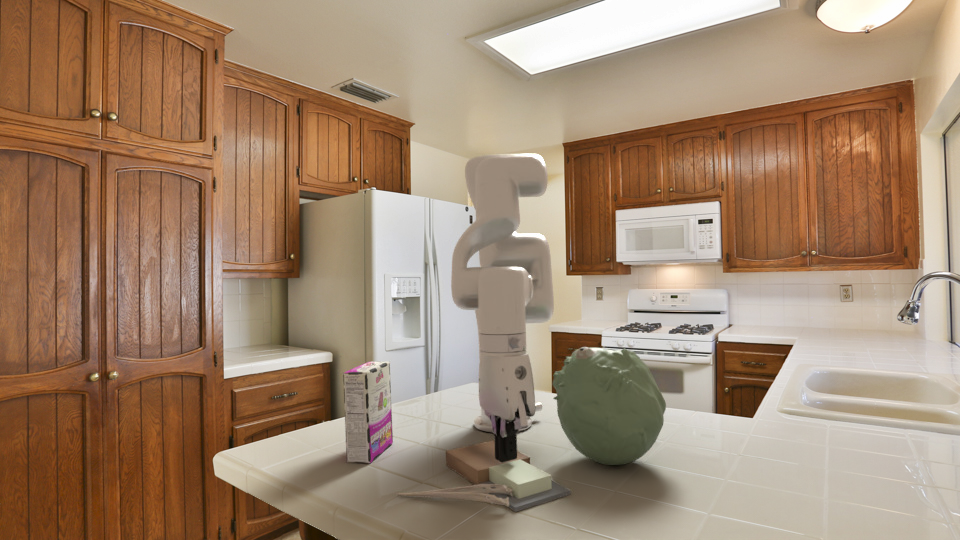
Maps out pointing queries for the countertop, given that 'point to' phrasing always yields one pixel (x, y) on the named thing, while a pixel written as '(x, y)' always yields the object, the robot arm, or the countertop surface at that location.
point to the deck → (476, 461)
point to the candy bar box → (367, 411)
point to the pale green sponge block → (520, 478)
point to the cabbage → (608, 404)
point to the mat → (533, 496)
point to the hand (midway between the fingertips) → (506, 459)
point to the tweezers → (468, 493)
